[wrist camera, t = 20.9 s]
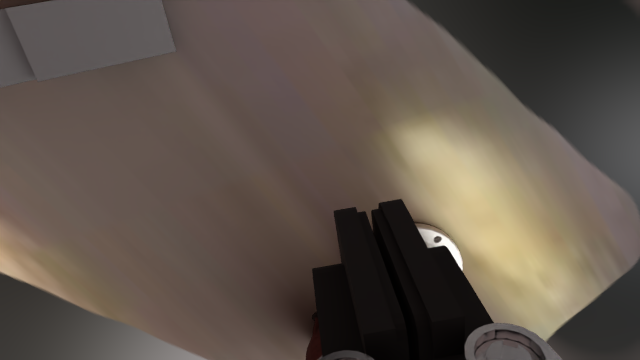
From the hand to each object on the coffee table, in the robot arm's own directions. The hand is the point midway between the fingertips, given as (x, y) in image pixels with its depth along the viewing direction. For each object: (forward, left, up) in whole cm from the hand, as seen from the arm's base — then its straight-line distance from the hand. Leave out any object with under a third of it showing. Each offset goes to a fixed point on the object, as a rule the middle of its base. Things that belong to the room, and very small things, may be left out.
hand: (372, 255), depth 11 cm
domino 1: (+8, +8, -28) cm, 31 cm away
